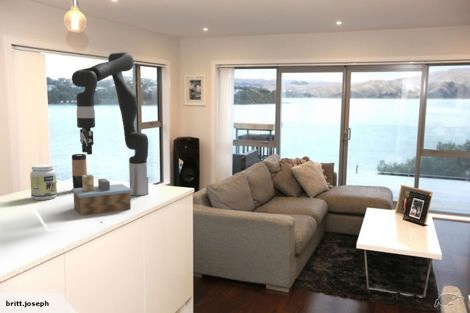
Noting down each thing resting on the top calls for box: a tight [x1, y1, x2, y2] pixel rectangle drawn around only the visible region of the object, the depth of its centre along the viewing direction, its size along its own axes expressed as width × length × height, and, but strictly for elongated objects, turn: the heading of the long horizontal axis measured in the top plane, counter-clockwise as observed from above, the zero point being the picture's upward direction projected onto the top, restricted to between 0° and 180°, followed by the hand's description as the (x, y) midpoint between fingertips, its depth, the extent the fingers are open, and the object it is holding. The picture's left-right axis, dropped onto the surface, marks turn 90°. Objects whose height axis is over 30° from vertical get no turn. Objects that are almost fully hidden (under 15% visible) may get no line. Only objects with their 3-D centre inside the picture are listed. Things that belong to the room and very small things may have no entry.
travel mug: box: [71, 153, 88, 189], centre depth 236 cm, size 8×8×20 cm
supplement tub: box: [29, 163, 58, 201], centre depth 218 cm, size 12×12×17 cm
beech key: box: [82, 174, 95, 192], centre depth 191 cm, size 4×4×16 cm
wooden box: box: [73, 192, 132, 216], centre depth 195 cm, size 22×14×9 cm, turn 122°
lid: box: [71, 178, 132, 198], centre depth 194 cm, size 23×15×5 cm, turn 122°
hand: (87, 153), depth 189 cm, fingers open, 8 cm apart
